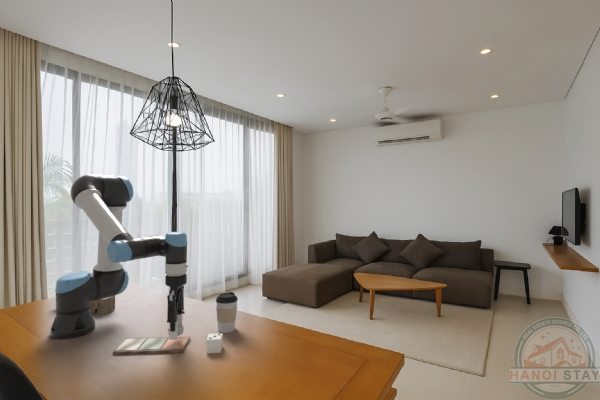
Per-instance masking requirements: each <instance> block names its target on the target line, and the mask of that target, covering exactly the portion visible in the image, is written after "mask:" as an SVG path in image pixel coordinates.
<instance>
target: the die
mask: <svg viewBox="0 0 600 400" xmlns="http://www.w3.org/2000/svg"><path fill="white" fill-rule="evenodd" d="M223 334H224V333H222V332H219V333H208V335H207V337H206V354H221V353H222V349H223V340H224V339H223V336H224V335H223Z"/></svg>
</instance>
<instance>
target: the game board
mask: <svg viewBox="0 0 600 400" xmlns="http://www.w3.org/2000/svg"><path fill="white" fill-rule="evenodd" d="M190 340H191V336H178V338H177V340H169V336H167V337H165V336H163V337H162V336H161V337H131V338H130V337H127V338H125V339H123V341H122V342H121V343H120V344H119V345H117V347H116V348H115V349H114V350H113V351H112V355H114V356H117V355H146V354H147V355H148V354H152V355H153V354H177V353H178V354H181V353H184V351H185V349H186V347H188V346H187V345H188V344H189V342H190Z"/></svg>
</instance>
